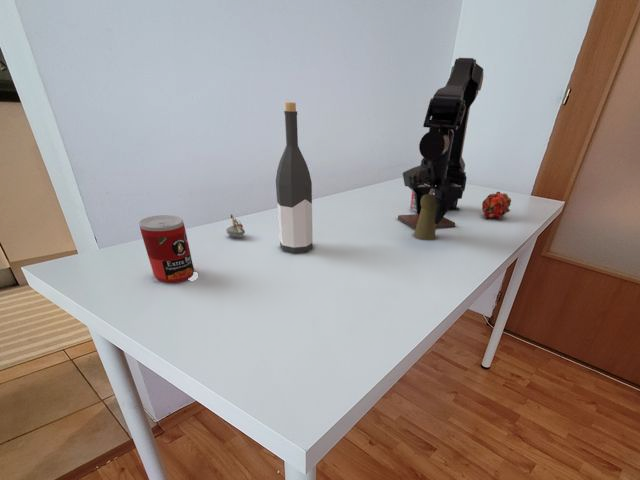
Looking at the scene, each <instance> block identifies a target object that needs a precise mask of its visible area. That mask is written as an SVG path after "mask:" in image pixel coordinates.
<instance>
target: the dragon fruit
mask: <svg viewBox="0 0 640 480" xmlns="http://www.w3.org/2000/svg"><path fill="white" fill-rule="evenodd" d="M511 203H512V199H511V198H510V197H509V195H508V194H507V193H506V192H505V193H503V192H502V193H501V191H496V192H495V193H490V194H489V195H487V197H486V198H485V199H484V200H483V201H482V203H481V207H482V208H481V210H482V212H483V213H484V219H493V218H496V219H497V220H501V218H503V217H504V215H506V214H507V213H508V214H509V213H510V212H511V209H510V206H511V205H512V204H511Z"/></svg>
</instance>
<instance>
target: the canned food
mask: <svg viewBox="0 0 640 480" xmlns="http://www.w3.org/2000/svg"><path fill="white" fill-rule="evenodd" d="M138 225H139V229H140V234H141V237H142V240H143V243H144V247H145V250H146V254H147V258H148V260H149V263H150V267H151V270H152V274H153V276H154V278H155V279H156V280H157V281H159V282H162V283H167V284H169V283H170V284H173V283H174V284H175V283H180V282H184V281H187V280H189V279H191V278H192V277H193V276H194V271H195V268H194V263H193V259H192V253H191V249H190V245H189V240H188V236H187V230H186V227H185V223H184V220H183V218H182V217H180V216H176V215H168V214H164V215H163V214H161V215H160V214H159V215H151V216H148V217H145V218H142V219H140V220H139V221H138Z"/></svg>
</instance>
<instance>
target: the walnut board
mask: <svg viewBox="0 0 640 480" xmlns="http://www.w3.org/2000/svg"><path fill="white" fill-rule="evenodd" d="M419 215H420V214H417V213H413V214H412V213H411V214H398V215H397V220H398V221H400V222H401V223H403V224H404V225H406V226H407V227H409V228H410V229H412V230H414V231H415V229H416V226H417V222H418V219H419ZM454 227H456V222H455V221H453V220H451V219H449V218H447V217H445V216H444V217H443V218H442V220H441V221H440V222H439V224H436V229H445V228H446V229H447V228H454Z"/></svg>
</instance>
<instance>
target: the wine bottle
mask: <svg viewBox="0 0 640 480" xmlns="http://www.w3.org/2000/svg"><path fill="white" fill-rule="evenodd" d="M284 104H285V105H284V106H285V110H284V111H283V112H284V125H285V143H286V145H285V148H284V149H283V152H282V154H281V157H280V159H279V163H278V165H277V170H276V175H275V176H276V177H275V191H276V192H275V193H276V204H277V218H278V234H279V245H280V248H281V250H282V251H283V252H285V253H290V254H293V255H294V254H304V253H305V254H306V253H308V252H310V251H311V250H312V249H313V245H314V244H313V242H314V241H313V239H314V238H313V183H312V178H311V173H310V171H309V168H308V164H307V162H306V160H305V158H304V155H303V153H302V152H301V150H300V147H299V138H298V137H299V136H298V111H297V109H296V108H297V103H296V102H292V101H291V102H290V101H285V102H284Z"/></svg>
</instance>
